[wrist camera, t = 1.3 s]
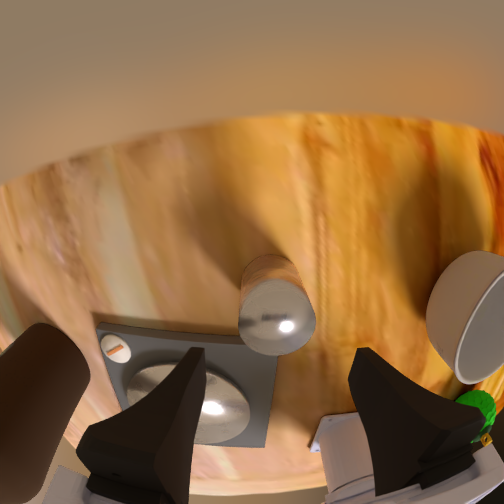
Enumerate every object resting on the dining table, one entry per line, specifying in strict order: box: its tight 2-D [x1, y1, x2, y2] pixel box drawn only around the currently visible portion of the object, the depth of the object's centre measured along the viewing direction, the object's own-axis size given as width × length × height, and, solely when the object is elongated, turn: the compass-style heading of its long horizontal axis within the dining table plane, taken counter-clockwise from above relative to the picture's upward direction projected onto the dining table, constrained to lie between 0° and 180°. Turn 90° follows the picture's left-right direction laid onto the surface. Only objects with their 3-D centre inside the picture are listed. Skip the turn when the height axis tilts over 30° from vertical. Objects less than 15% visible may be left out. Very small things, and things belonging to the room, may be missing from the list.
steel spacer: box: [238, 255, 316, 356], centre depth 18 cm, size 4×4×6 cm
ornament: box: [455, 390, 496, 447], centre depth 23 cm, size 8×8×10 cm
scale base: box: [96, 322, 278, 448], centre depth 24 cm, size 16×16×2 cm
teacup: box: [426, 251, 504, 384], centre depth 18 cm, size 14×11×8 cm
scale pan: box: [127, 362, 250, 444], centre depth 23 cm, size 12×12×1 cm
